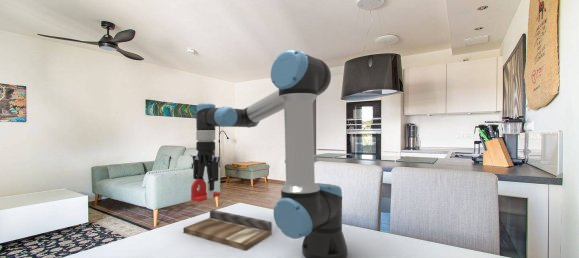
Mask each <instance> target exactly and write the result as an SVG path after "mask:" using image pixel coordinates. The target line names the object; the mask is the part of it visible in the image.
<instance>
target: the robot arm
mask: <svg viewBox="0 0 579 258" xmlns="http://www.w3.org/2000/svg"><path fill="white" fill-rule="evenodd" d="M270 80H271V82H272V84H273V85H274V86H275V87H276V88H277V90H275V91H273V92H272V93H270V94H268V95H267V96H264V97H263V98H262V99H260V100H257V101H256V102H254V103H252V104H251V105H249V106H246V107H245V108H233V107H232V106H231V107H230V106H221V107H216V104H214V103H208V102H207V103H204V102H203V103H198V104H197V105H196V112H195V114H196V116H195V117H196V119H195V121H196V123H195V124H196V132H195V134H196V136H195V139H196V144H195V150H196V151H197V154H195V155H192V161H193V169H192V170H193V171H192V172H193V174H192V175H193V180H197V179H202V180H204V181H205V179H204V175H205V170H206V175H207V182H206V193H207V200H209V199H213V191H215V182H218V181H219V169H220V168H219V164H220V158H221V157H220V156H216V155H215V150H216V142H215V140H216V127H219V128H221V127H223V128H227V127H228V128H229V127H230V128H234V127H235V128H250V129H251V128H255V127H257V126H258V124H260V122H261V121H263V120H265V119H267V118H269V117H271V116H273V115H275V114H277V113H279V112H281V111H283V110H284V111H283V112H284V144H285V145H284V151H285V152H284V154H285V155H284V157H285V161H284V162H285V183H284V184H283V186H282V187H281V188H280V199H278V200H277V202H276V203H275V204H274V207H273V219H274V222H275V224H276V227H277V228H278V229H279V230H280V232H281V233H282V234H283V235H285V236H286V237H288V238H291V239H296V240H297V239H301V238H303V241H302V246H301V254H302V255H303V256H304V257H305V258H347V257H348V246H347V241H346V240H345V236H344V233H343V191H342V188H341V187H340V186H339V185H336V184H331V183H321V182H315V146H314V145H315V143H314V140H315V137H314V108H313V107H314V106H313V105H314V104H313V103H314V101H315V100H316V99H317V98H318V96H320V95H321V94H323V93H324V92H325V91H326V90H327V89H328V88H329V86H330V84H331V81H332V73H331V69H330V68H329V66H328V65H327V63H326V62H324V61H323V60H322V59H319V58H316V57H314V56H312V55H309V54H306V53H305V52H303V51H302V50H296V49H287V50H284V51H282V52H280V54H278V56H277V57H276V59H274V60H273V63H272V65H271V68H270ZM205 168H206V169H205ZM200 188H201V186H200V184H199V185H198V186H197V190H198V191H199V190H200Z"/></svg>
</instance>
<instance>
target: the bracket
mask: <svg viewBox="0 0 579 258" xmlns="http://www.w3.org/2000/svg"><path fill="white" fill-rule="evenodd" d="M199 184H200V186H201V188H200V190H199V191H198V188H197V186H198V185H199ZM219 196H221V192H219V191H215V190H213V198H217V197H219ZM213 198H212V199H213ZM207 200H208V199H207V182H206V181H205V179H204V180H202V179H197V180H196V179H194V181H192V184H191V187H190V201H193V202H197V203H198V202H199V203H200V202H203V201H207Z"/></svg>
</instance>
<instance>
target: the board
mask: <svg viewBox="0 0 579 258" xmlns="http://www.w3.org/2000/svg"><path fill="white" fill-rule="evenodd" d="M272 222H273V221H269V220H264V219H261V218H260V219H259V218H253V217H250V216H246V215H245V216H244V215H240V214H234V213H229V212H226V211H222V210H221V211H220V210H216V209H212V210H209V217H208V218H206V219H202V220H200V221H198V222H195V223H193V224H189V225H187V226H184V227H183V233H184V234H187V235H191V236H194V237H197V238H201V239H204V240H208V241H211V242H214V243H218V244H220V245H221V244H222V245H225V246H228V247H233V248H234V249H235V248H236V249H239V250H243V251H248V250H249V249H251V248H252V247H254V246H255V245H257V244H259V243H260V242H262V241H264V240H265V239H267V238H269V237H271V235H272V234H273V233H272V231H273V229H272V228H273V227H272Z"/></svg>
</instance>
